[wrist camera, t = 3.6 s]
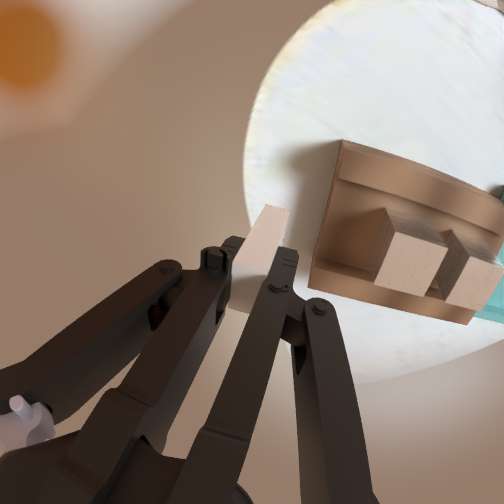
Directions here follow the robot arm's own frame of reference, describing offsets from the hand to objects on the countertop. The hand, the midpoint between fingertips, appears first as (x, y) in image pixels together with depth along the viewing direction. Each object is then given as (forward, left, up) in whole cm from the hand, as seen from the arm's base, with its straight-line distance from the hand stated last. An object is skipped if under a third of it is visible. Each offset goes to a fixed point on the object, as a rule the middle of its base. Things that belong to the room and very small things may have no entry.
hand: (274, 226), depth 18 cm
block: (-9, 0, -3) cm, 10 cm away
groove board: (-11, 0, -6) cm, 13 cm away
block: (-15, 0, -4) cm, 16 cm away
